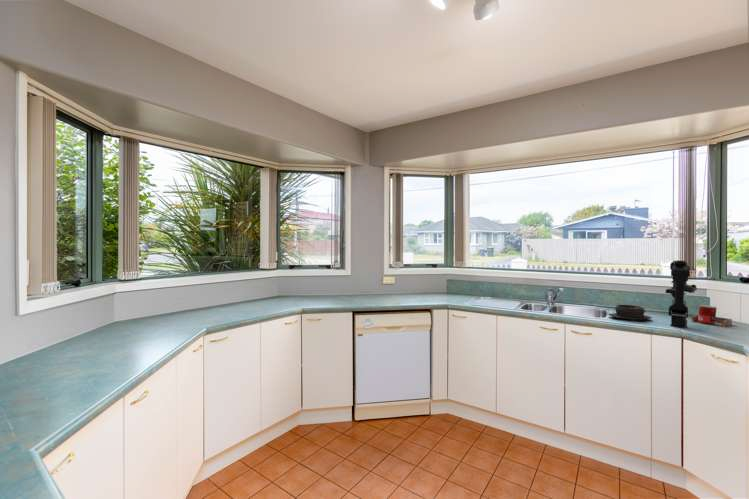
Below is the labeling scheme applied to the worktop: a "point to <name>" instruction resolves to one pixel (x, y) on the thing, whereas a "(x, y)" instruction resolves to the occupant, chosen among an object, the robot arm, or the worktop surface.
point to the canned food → (707, 314)
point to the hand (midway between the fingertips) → (678, 303)
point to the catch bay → (716, 320)
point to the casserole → (629, 312)
